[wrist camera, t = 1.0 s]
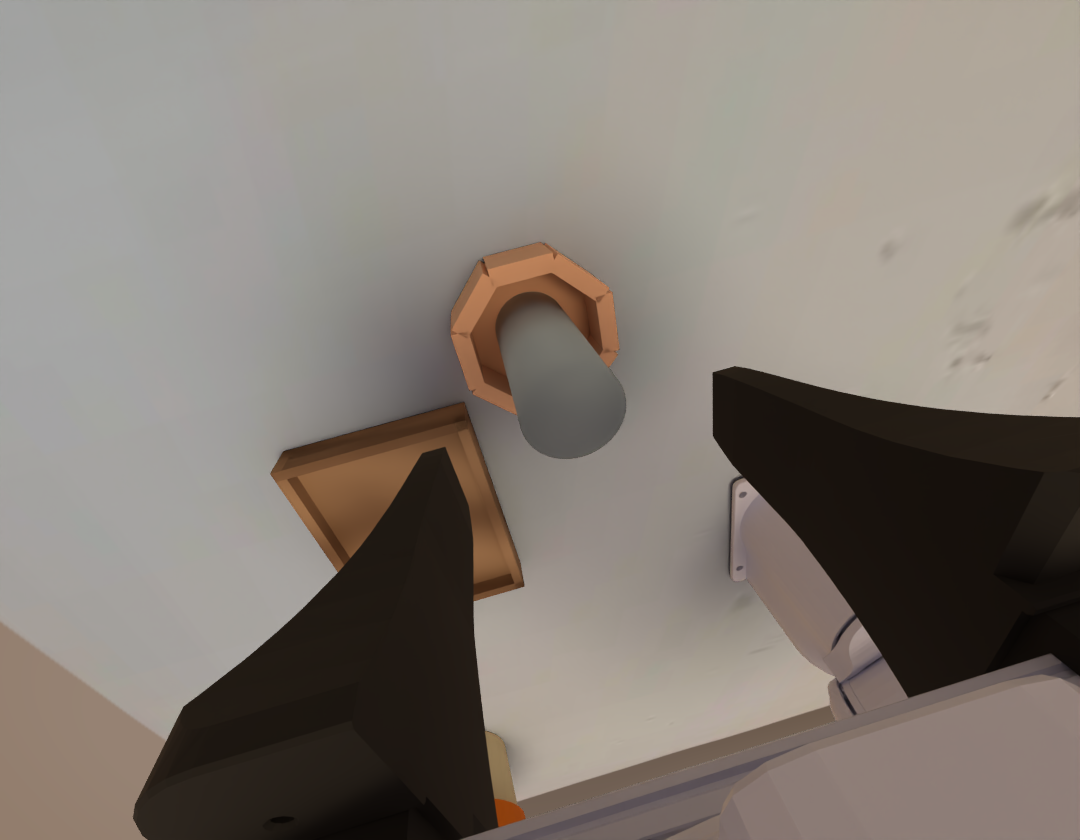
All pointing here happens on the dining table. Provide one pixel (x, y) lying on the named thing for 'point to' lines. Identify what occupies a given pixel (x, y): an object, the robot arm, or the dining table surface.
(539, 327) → the dowel
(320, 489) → the tray
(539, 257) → the orange octagonal bowl
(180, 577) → the dining table surface
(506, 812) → the reusable coffee cup
